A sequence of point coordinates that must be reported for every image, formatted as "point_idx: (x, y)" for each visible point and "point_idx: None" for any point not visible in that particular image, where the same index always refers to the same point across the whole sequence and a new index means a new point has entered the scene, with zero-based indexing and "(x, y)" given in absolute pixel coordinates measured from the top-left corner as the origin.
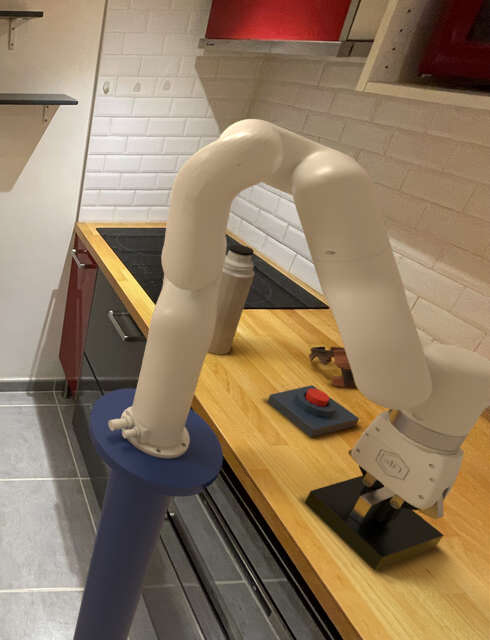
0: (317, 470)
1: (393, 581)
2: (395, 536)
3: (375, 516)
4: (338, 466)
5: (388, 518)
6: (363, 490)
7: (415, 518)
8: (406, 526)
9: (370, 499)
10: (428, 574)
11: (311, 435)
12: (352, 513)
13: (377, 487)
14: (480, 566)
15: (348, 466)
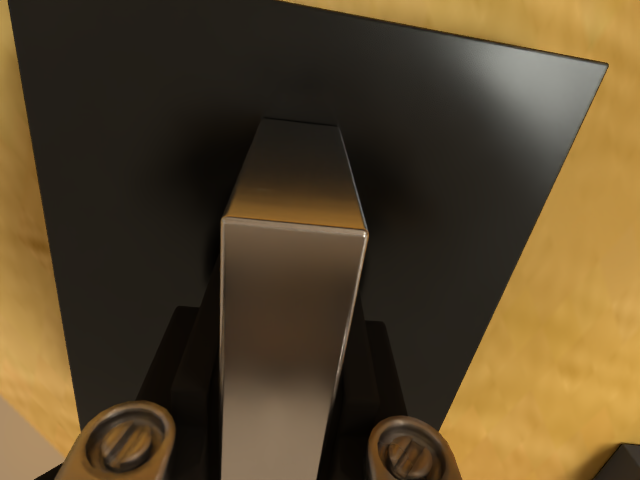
0: (551, 323)
1: (6, 3)
2: (126, 243)
3: None
4: (495, 409)
5: (189, 307)
6: (387, 364)
7: None
8: None
9: (278, 291)
10: (23, 230)
11: (631, 454)
12: (330, 132)
13: (333, 474)
14: (31, 422)
15: (470, 437)
